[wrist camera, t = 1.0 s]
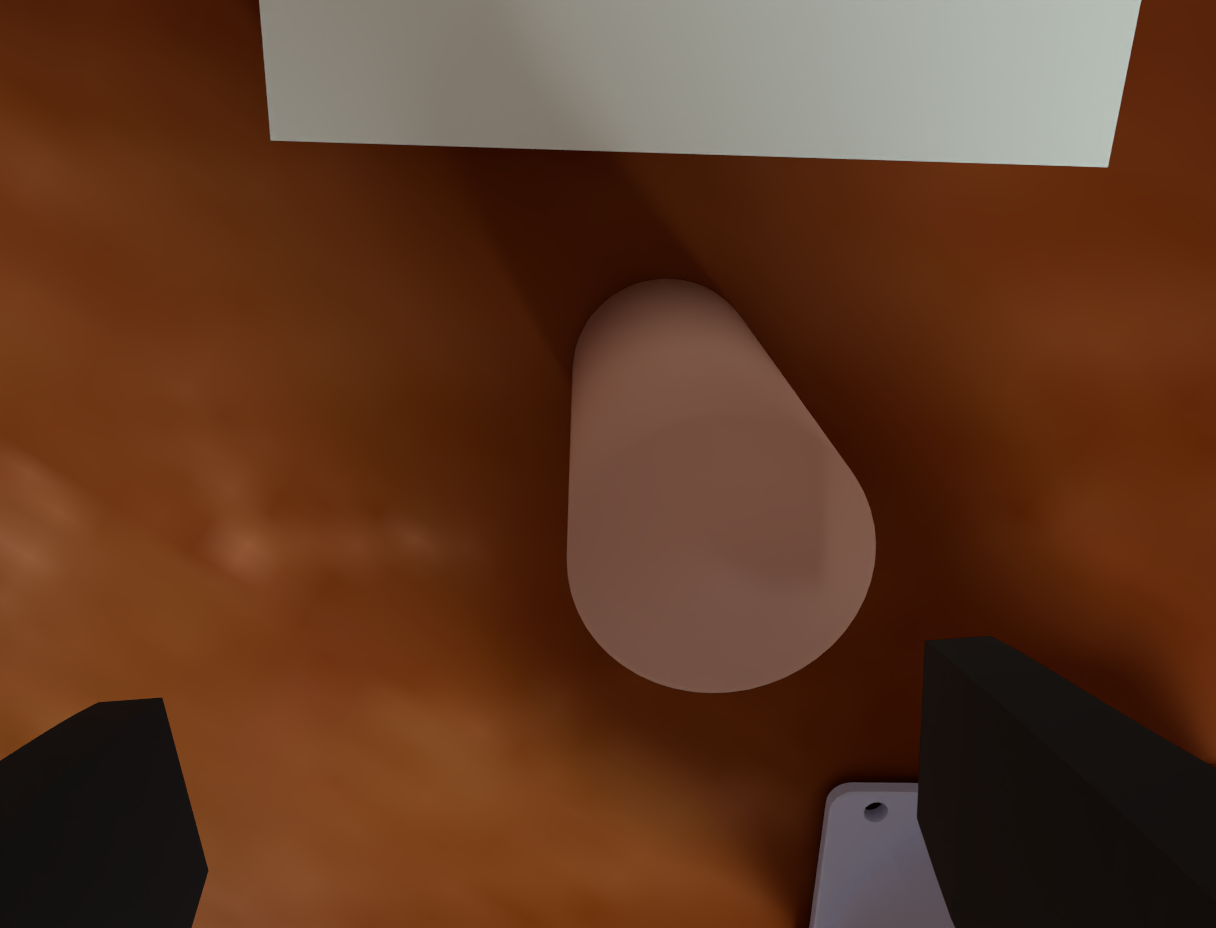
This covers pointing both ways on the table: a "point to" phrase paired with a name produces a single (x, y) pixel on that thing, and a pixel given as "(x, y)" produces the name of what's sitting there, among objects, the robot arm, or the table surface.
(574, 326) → the table surface
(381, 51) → the socket block
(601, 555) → the dowel
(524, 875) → the table surface
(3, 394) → the table surface
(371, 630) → the table surface
